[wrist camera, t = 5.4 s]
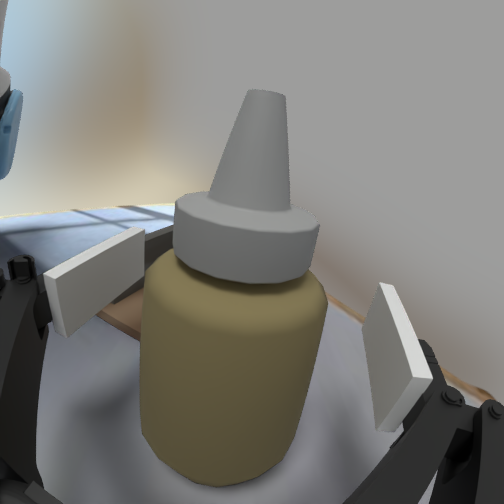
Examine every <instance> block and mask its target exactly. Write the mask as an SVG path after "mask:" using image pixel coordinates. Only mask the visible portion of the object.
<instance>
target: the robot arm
mask: <svg viewBox="0 0 504 504" xmlns="http://www.w3.org/2000/svg"><path fill="white" fill-rule="evenodd" d="M7 4H8V0H0V56H1V44H2V35H3V28H4V21H5V15H6V9H7ZM22 94H23V93H22V92H21V91H18V90H16V89H14V90H12V91H10V74H9V73H8V72H7V71H6V70H5V69H3V68H1V67H0V180H1V179H3V178H5V177H6V175H7V174H8V173H9V171H10V169H11V166H12V162H13V157H14V153H15V147H16V141H17V135H18V130H19V123H20V118H21V111H22V103H23V96H22ZM144 243H145V229H141V228H137V227H132V228H130V229H128V230H125V231H123V232H121V233H119V234H117V235H115V236H113V237H111V238H109V239H107V240H105V241H103V242H101V243H99V244H97V245H95V246H93V247H91V248H89V249H87V250H86V251H84V252H82V253H80V254H78V255H76V256H74V257H72V258H70V259H68V260H66V261H64V262H62V263H60V264H59V265H57V266H56V267H53V268H51V269H50V270H48V271H46V272H44V273H42V274H41V275H39V276H37V273H36V267H35V260H34V258H33V257H32V256H30V255H20V256H16V257H13V258H11V259H10V260H9V261H8V262H7V264H8V269H9V274H10V279H11V281H10V280H5V278H4V273H3V270H2V269H1V268H0V504H63V503H62V502H60V501H59V500H58V499H56V498H55V497H53V496H52V495H51V494H49V493H48V492H47V491H46V490H44V486H43V482H42V478H41V476H40V474H39V471H38V469H37V465H36V427H37V410H38V399H39V389H40V381H41V373H42V367H43V360H44V354H45V349H46V343H47V338H48V333H49V328H48V325H47V324H48V323H49V322H51V321H52V320H53V324H54V328H55V332H57V333H59V334H60V335H62V336H64V337H66V338H68V337H69V336H70V335H72V334H73V333H74V332H75V331H76V330H77V329H79V328H80V327H81V326H82V325H83V324H85V323H86V322H87V321H88V320H89V319H91V318H92V317H93V316H94V315H95V314H97V313H98V312H99V311H100V310H102V309H103V308H104V307H105V306H106V305H108V304H109V303H110V302H111V301H113V300H114V299H115V298H116V297H118V296H119V295H120V294H121V293H123V292H124V291H125V290H126V289H128V288H129V287H130V286H131V285H133V284H134V283H135V282H137V281H138V280H139V279H140V278H142V277H143V276H144ZM362 334H363V340H364V346H365V351H366V358H367V364H368V371H369V377H370V385H371V392H372V400H373V409H374V418H375V428H376V431H384V432H395V431H396V429H397V428H398V427H399V426H400V424H401V423H402V422H403V428H404V431H403V433H402V434H401V435H400V436H399V437H398V438H397V440H396V441H395V442H394V443H393V444H392V445H391V446H390V447H389V448H390V450H389V451H388V452H387V454H386V455H385V456H384V457H383V459H382V460H381V461H380V462H379V464H378V465H377V466H376V467H375V469H374V470H373V471H372V472H371V473H370V474H369V476H368V477H367V478H366V479H365V480H364V481H363V482H362V484H361V485H360V486H359V487H358V488H357V489H356V490H355V491H354V492H353V493H352V494H351V496H350V497H349V498H348V499H347V500H346V501H345V502H344V503H343V504H418V502H419V501H420V499H421V497H422V496H423V494H424V492H425V491H426V489H427V487H428V486H429V484H430V482H431V480H432V479H433V477H434V475H435V473H436V471H437V469H438V472H437V476H436V480H435V484H434V487H433V491H432V495H431V498H430V501H429V504H504V406H503V405H501V403H499V402H497V401H495V400H491V399H489V400H486V401H485V402H484V403H483V404H482V405H481V406H480V408H476V407H472V406H469V405H466V404H465V400H464V397H463V395H462V394H461V393H460V392H459V391H458V390H457V389H455V388H454V387H451V386H448V385H447V384H446V381H445V379H444V376H443V374H442V371H441V369H440V366H439V365H438V362H437V360H436V358H435V355H434V352H433V350H432V348H431V347H430V346H429V345H428V344H427V342H425V340H420V339H417V337H416V334H415V332H414V330H413V327H412V325H411V323H410V321H409V318H408V316H407V314H406V312H405V309H404V307H403V305H402V303H401V301H400V299H399V297H398V295H397V292H396V290H395V288H394V287H393V285H389V284H385V283H380V282H379V284H378V287H377V290H376V293H375V296H374V298H373V301H372V304H371V307H370V309H369V312H368V314H367V317H366V319H365V322H364V324H363V327H362Z"/></svg>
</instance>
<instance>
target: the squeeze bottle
mask: <svg viewBox="0 0 504 504" xmlns="http://www.w3.org/2000/svg"><path fill="white" fill-rule="evenodd" d="M319 227H320V224H319V223H318V221H317V219H316V217H315V216H314V215H313V214H311V213H310V212H308V211H306V210H305V209H303V208H300V207H298V206H295V205H292V204H290V181H289V155H288V133H287V115H286V98H285V96H284V95H283V94H280V93H277V92H272V91H266V90H256V89H255V90H248V91H247V94H246V96H245V99H244V101H243V104H242V106H241V108H240V111H239V113H238V116H237V118H236V121H235V124H234V126H233V129H232V131H231V134H230V136H229V139H228V142H227V144H226V147H225V150H224V152H223V155H222V158H221V160H220V163H219V166H218V169H217V171H216V174H215V177H214V180H213V183H212V185H211V188H210V191H208V192H196V193H190V194H185V195H184V196H182V197H180V198H179V199H178V200H176V202H175V213H174V226H173V242H172V243H173V249H170V250H168V251H167V252H166V253H164V254H163V255H161V256H160V257H158V258H157V259H156V260H155V262H154V263H153V264H152V265H151V266H150V267H149V268H148V269H147V270H146V271H145V281H144V292H143V304H142V319H141V339H140V416H141V427H142V434H143V436H144V437H145V439H146V441H147V442H148V444H149V445H150V447H151V448H152V450H153V451H154V453H155V454H156V456H157V457H158V458H159V459H160V460H161V461H163V462H164V463H165V464H167V465H168V466H170V467H171V468H172V469H174V470H175V471H177V472H178V473H180V474H181V475H183V476H184V477H186V478H188V479H189V480H191V481H193V482H195V483H197V484H202V485H208V486H213V487H221V486H227V485H233V484H238V483H241V482H244V481H247V480H250V479H253V478H256V477H258V476H260V475H261V474H263V473H264V472H266V471H267V470H269V469H270V468H272V467H273V466H274V465H276V464H277V463H279V462H280V461H282V459H283V458H284V456H285V454H286V452H287V450H288V448H289V447H290V445H291V443H292V441H293V439H294V436H295V433H296V430H297V427H298V423H299V420H300V417H301V413H302V410H303V406H304V403H305V399H306V396H307V392H308V388H309V384H310V381H311V377H312V373H313V369H314V365H315V361H316V357H317V352H318V348H319V344H320V340H321V335H322V331H323V326H324V321H325V317H326V312H327V307H328V301H327V298H326V295H325V291H324V288H323V286H322V284H321V283H320V282H319V281H318V279H317V278H316V277H315V275H314V274H313V273H312V272H310V271H309V270H308V268H309V267H310V265H311V261H312V257H313V253H314V249H315V244H316V240H317V236H318V232H319Z"/></svg>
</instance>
